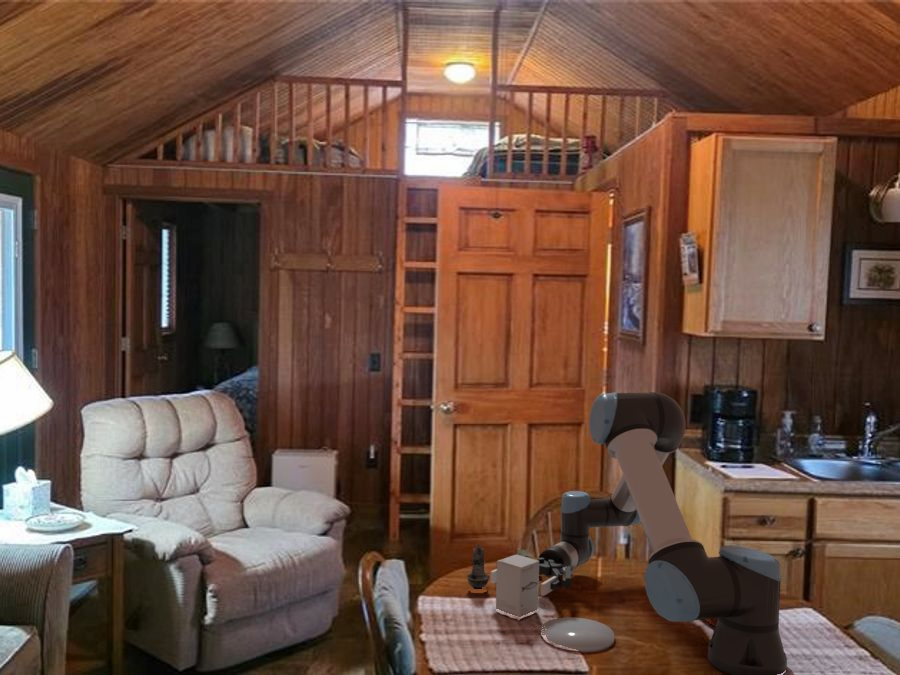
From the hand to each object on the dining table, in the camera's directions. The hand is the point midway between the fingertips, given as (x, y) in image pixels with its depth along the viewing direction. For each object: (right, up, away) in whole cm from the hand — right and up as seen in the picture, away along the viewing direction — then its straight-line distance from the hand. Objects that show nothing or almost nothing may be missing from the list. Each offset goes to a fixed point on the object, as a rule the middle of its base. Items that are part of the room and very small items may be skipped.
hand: (516, 583), depth 187 cm
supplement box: (0, -7, 0) cm, 7 cm away
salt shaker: (-9, -6, +15) cm, 18 cm away
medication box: (+6, -6, +31) cm, 32 cm away
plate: (+12, -8, -13) cm, 19 cm away
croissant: (+47, -8, +1) cm, 48 cm away
